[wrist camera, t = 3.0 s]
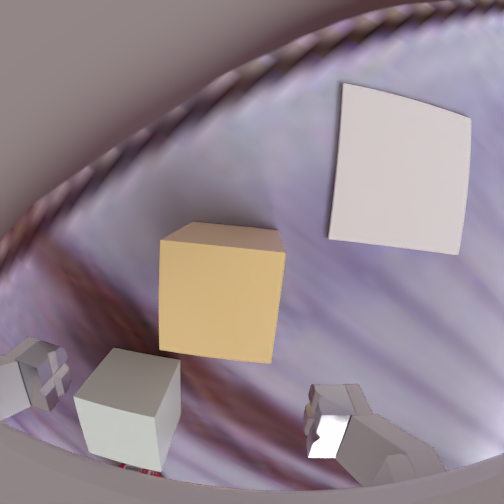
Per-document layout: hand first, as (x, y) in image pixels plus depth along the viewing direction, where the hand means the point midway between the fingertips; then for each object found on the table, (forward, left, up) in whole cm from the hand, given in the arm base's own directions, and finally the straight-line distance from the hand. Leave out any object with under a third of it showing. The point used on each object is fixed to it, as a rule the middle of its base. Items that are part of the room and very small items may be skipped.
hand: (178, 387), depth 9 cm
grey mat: (+9, -13, -16) cm, 22 cm away
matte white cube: (-12, +7, -16) cm, 21 cm away
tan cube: (0, 0, -16) cm, 16 cm away
